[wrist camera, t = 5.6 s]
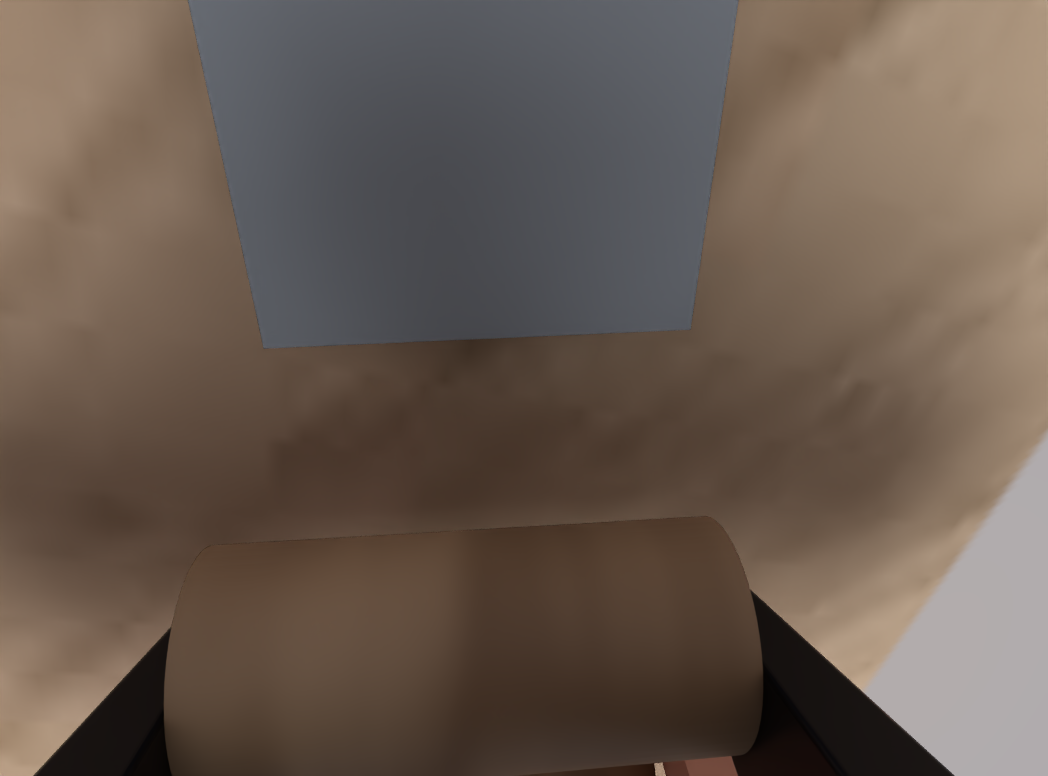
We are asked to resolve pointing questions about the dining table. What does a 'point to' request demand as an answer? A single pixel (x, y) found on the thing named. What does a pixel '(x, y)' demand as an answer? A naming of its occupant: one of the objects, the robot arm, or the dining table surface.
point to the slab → (467, 162)
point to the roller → (464, 653)
